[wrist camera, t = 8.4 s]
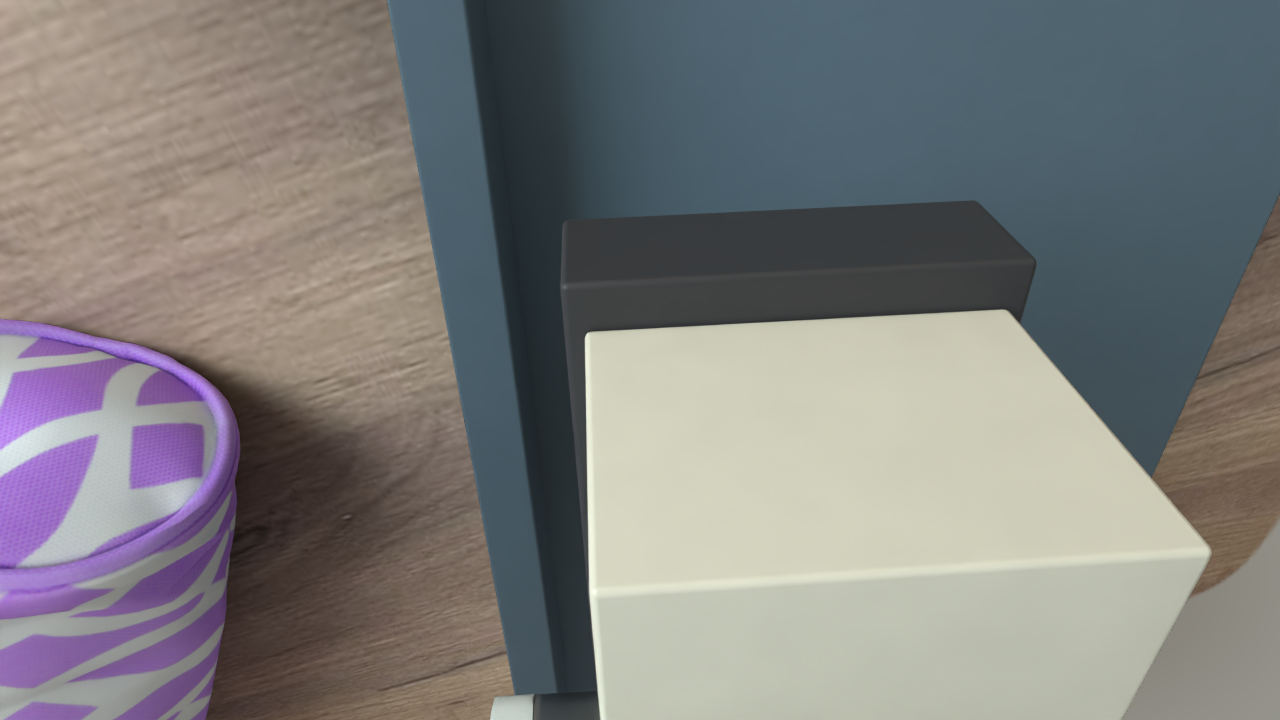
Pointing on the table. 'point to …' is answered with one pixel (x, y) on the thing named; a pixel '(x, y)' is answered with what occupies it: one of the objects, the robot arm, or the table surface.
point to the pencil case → (110, 528)
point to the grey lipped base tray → (825, 195)
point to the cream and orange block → (850, 477)
